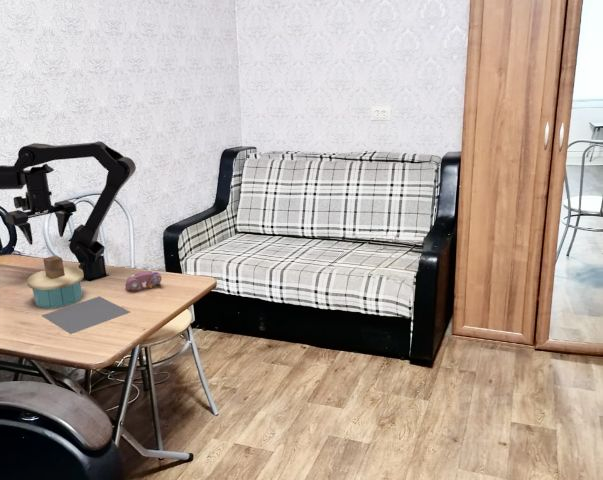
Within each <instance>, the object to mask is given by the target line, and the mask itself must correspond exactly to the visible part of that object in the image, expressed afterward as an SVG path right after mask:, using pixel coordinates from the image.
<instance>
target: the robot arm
mask: <svg viewBox="0 0 603 480" xmlns="http://www.w3.org/2000/svg"><path fill="white" fill-rule="evenodd" d="M17 156H18V157H17V159H16V161H15V163H14V165H4V164H1V165H0V190H22V189H23V188H24V187H25V186H26V192H25V194H24V195H25V197H23V195H22V196H21V195H20V196H15V197H13V199H12V200H13V204H14V207H15V209H17V210H13V211H8V212H6V213H5V215H4V218H5V219H4V220H5V223H7V224H10V225H13V226H16V227H17V228H18V229H19V230H20V231H21V232H22V234H23V236H24V237H25V239H26V241H27V242H28V244H29V245H32V246H33V241H34V240H33V233H32V228H31V227H32V226H31V223H30V222H29V219H32V218H36V217H37V218H38V217H42V216H46V215H50V214H54V215H55V217H56V221H57V230H58V235H59V237H60V238H63V237H64V233H65V232H66V228H67V225H68V223H69V220H70V219H71V216H74V213H76V212H77V211H78V210H77V205H76V203H75V202H73V201H70V200H66V199H65V200H61V201H55V202H54V204H53V205H52V201H51V196H52V195H53V194H52V191H51V190H50V187H49V182H48V174H49V173H52V172H54V170H55V169H54V168H53V167H51V166H49V165H48V164H47V163H49V162H52V161H59V160H70V159H82V158H84V159H85V158H94V159H96V160H97V162H98V163H99V164H100V165H101V166H102V167H103V168H104V169H105V170H106V171H107V174H106V179H105V181H106V182H105V186H104V188H103V189H102V191H101V193H100V195H99V197H98V198H97V201H96V203H95V205H94V207H93V209H92V211H91V212H90V214H89V216H88V218H87V220H86V222H85V224H83V223H81V224H79V226H77V227H76V228H75V229H74V230H73V232H72V236H71V237H70V239H69V240H67V241H68V242H69V244H68V248H69V250H70V252H71V253H72V254H73V255H74V257H75V258H76V260H77V262H78V268H80V269H82V270H83V274H84V277H83V279H82V280H83V281H85V282H89V283H90V282H94V281H96V280H99V279H103V278H106V277H109V276H110V274H108V273H107V271H106V270H107V269H106V262H105V257H104V255H103V254H104V252H105V248H106V247H105V246H104V245H103V244H102V243H101V242H99V241H98V238H99V234H100V233H99V232H100V227H101V226H102V224H103V222H104V221H105V218H106V216H107V215H108V212H109V211H110V209H111V207H112V205H113V203H114V202H115V199H116V198H117V196H118V194H119V192H120V190H121V189H122V188H123V187H124V186H125V184H126V183H127V182H128V181H129V179H130V178H131V177H132V176H133V175H134V173H135V172H136V169H137V167H136V163H135V162H134V160H133V159H132V158H130V157H128V156H124V155H122V154H121V153H120V152H118V151H117V150H115V149H113V148H111V147H109V146H108V145H107V144H106V143H104V142H102V141H100V140H99V141H95V142H87V143H84V142H82V143H74V144H72V143H71V144H62V145H51V144H47V143H39V142H37V143H36V142H33V143H30V144H27V145H24V146H22V147H20V149H19V150H18V154H17ZM38 165H39V166H38ZM40 165H42V166H40ZM28 168H30V169H28ZM20 208H21V210H20Z"/></svg>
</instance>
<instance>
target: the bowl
mask: <svg viewBox="0 0 603 480" xmlns="http://www.w3.org/2000/svg"><path fill="white" fill-rule="evenodd" d="M81 281H82V280H81ZM81 281H79V282H78V283H76V284H73V285H70V286H67V287H63V288H59V289H52V290H36V289H32V293H33V299H34V303H35V305H36V306H37V307H39V308H44V309H55V308H62V307H63V308H64V307H68V306H71V305H74V304H76V303H77V302H78V301H81V299H82V298H83V289H82V282H81Z"/></svg>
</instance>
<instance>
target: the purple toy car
mask: <svg viewBox="0 0 603 480" xmlns="http://www.w3.org/2000/svg"><path fill="white" fill-rule="evenodd" d="M161 282H162V275H161V274H160V273H159V272H158V271H157V270H155V269H154V270H151V271H150V270H142V271H139V272H136V274H131V275H129V277H127V279H126V281H125V290H126V291H131V289H133V290H135V291H140V290H143V289H144V286H143V285H144V284H143V283H145V287H146V288H147V289H152V288H154V287H155V286H156V285H157V286H158V285H160V284H161Z"/></svg>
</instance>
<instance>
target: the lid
mask: <svg viewBox="0 0 603 480" xmlns="http://www.w3.org/2000/svg"><path fill="white" fill-rule="evenodd" d="M42 260H43V264H44V265H43V266H44V269H43V270H40V271H37V272H35V273H33V274H31V275H30V276H29V277H28V278H27V280H26V282H27V286H28V288H30V289H32V290H33V289H36V290H52V289H59V288H63V287H67V286H70V285H73V284H76V283H78V282H79V281H82V280H83V277H84V274H83V270H82V269H80V268H79V267H77V266H76V267H75V266H64V261H63V258H62V257H61V256H59V255H55V254H54V255H51V256H48V257H45V258H43V259H42Z"/></svg>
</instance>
